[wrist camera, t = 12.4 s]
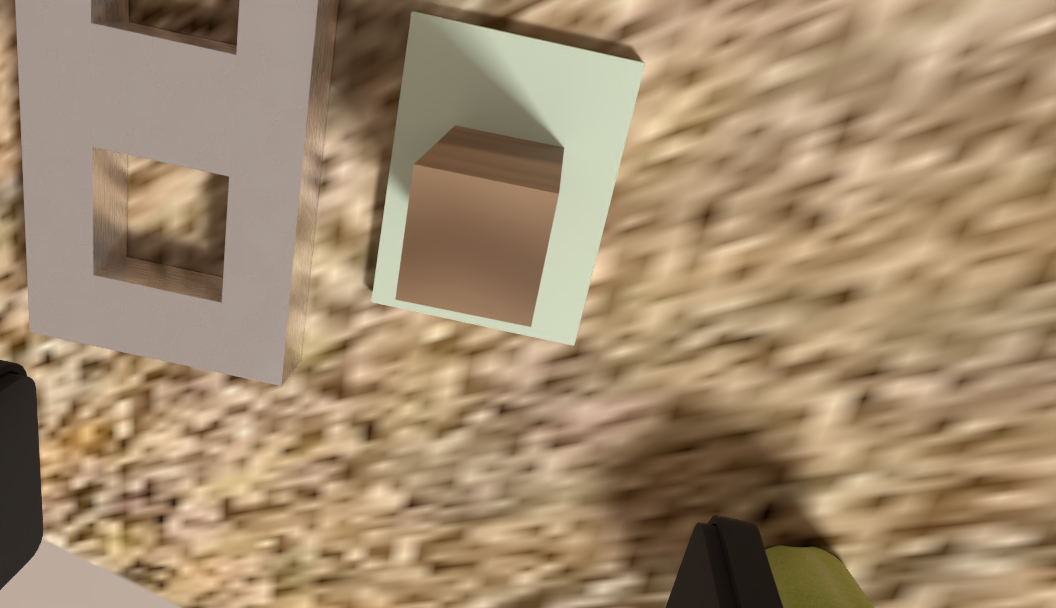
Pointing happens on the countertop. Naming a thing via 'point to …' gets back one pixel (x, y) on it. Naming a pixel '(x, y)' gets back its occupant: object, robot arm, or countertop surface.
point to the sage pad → (521, 112)
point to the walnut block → (480, 225)
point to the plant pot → (813, 579)
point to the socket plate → (185, 140)
